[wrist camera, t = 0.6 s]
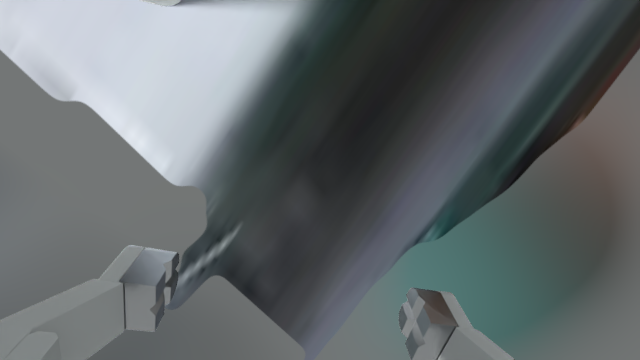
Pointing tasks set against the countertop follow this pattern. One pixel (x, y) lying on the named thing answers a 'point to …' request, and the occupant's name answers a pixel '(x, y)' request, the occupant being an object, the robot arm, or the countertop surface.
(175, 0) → the cylindrical container
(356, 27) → the countertop surface
